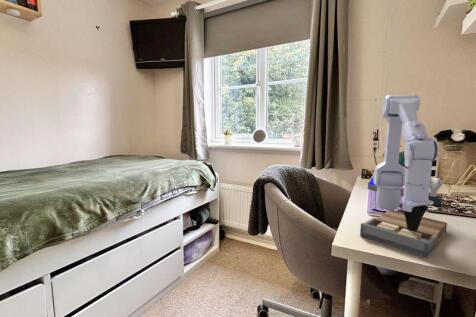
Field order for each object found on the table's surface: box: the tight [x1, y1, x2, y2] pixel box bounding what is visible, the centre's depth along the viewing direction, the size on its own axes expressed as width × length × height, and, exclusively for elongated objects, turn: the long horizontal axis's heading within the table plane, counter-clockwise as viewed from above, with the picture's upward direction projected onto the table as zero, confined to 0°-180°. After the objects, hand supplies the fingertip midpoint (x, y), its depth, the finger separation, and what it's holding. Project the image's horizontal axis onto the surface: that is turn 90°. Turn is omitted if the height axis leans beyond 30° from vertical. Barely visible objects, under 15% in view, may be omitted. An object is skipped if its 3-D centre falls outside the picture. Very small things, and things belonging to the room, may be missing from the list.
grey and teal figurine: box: [428, 177, 443, 207], centre depth 106 cm, size 6×8×11 cm
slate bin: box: [359, 217, 438, 259], centre depth 73 cm, size 9×17×4 cm, turn 41°
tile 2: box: [398, 229, 421, 240], centre depth 71 cm, size 4×4×2 cm
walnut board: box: [375, 210, 448, 245], centre depth 81 cm, size 14×16×3 cm
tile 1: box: [377, 222, 399, 233], centre depth 76 cm, size 4×4×2 cm
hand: (412, 229), depth 73 cm, fingers closed
